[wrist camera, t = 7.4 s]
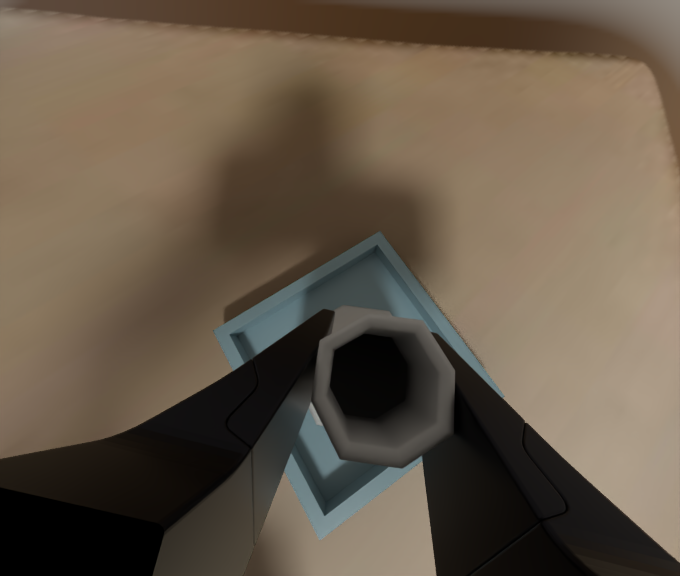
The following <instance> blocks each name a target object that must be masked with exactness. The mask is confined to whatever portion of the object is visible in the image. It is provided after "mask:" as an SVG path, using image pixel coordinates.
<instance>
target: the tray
mask: <svg viewBox="0 0 680 576" xmlns="http://www.w3.org/2000/svg"><path fill="white" fill-rule="evenodd" d="M342 305H348V306H356V307H363V308H370V309H378V310H385V311H390V313H391V314H392V316H394V317H402V318H409V319H417V320H423V321H424V323H425V324H426V326H427V327H428V329H429V331H430V332H434V333H437V334H439V335H440V336H441V337H442V338H443V339H444V340H445V341H446V342H447V343H448V344H449V345H450V346H451V347H452V348H453V349H454V350H455V351H456V352H457V353H458V354H459V355H460V356H461V357H462V358H463V359H464V360H465V361H466V362H467V363H468V364H469V365H470V366H471V367H472V368H473V369H474V370H475V371H476V372H477V373H478V374H479V375H480V376H481V377H482V378H483V379H484V380H485V381H486V382H487V383H488V384H489V385H490V386H491V387H492V388H493V389H494V390H495V391H496V392H497V393H498V394H499V395H500V396H501V397H502V398H503V397H505V396H504V395H503V394H502V392H501V391H500V390H499V388H498V387H497V386H496V384H495V383H494V382H493V380H492V379H491V378H490V376H489V375H488V374H487V372H486V371H485V370H484V368H483V367H482V366H481V364H480V363H479V362H478V360H477V359H476V358H475V356H474V355H473V354H472V352H471V351H470V350H469V348H468V347H467V346H466V344H465V343H464V342H463V340H462V339H461V338H460V336H459V335H458V334H457V333H456V331H455V330H454V329H453V327H452V326H451V325H450V323H449V322H448V321H447V319H446V318H445V317H444V315H443V314H442V313H441V311H440V310H439V309H438V307H437V306H436V305H435V303H434V302H433V301H432V299H431V298H430V297H429V295H428V294H427V293H426V291H425V290H424V289H423V287H422V286H421V285H420V283H419V282H418V281H417V279H416V278H415V277H414V275H413V274H412V273H411V271H410V270H409V269H408V267H407V266H406V265H405V264H404V262H403V261H402V260H401V258H400V257H399V256H398V254H397V253H396V252H395V250H394V249H393V248H392V246H391V245H390V244H389V242H388V241H387V240H386V238H385V237H384V236H383V234H382V233H381V232H380V231H379V232H377V233H375V234H374V235H372V236H370V237H369V238H367V239H365V240H364V241H362V242H360V243H359V244H357V245H355V246H354V247H352V248H350V249H349V250H347V251H345V252H344V253H342V254H340V255H339V256H337V257H335V258H334V259H332V260H330V261H329V262H327V263H325V264H324V265H322V266H320V267H319V268H317V269H315V270H314V271H312V272H310V273H309V274H307V275H305V276H304V277H302V278H300V279H299V280H297V281H295V282H294V283H292V284H290V285H288V286H287V287H285V288H283V289H282V290H280V291H278V292H277V293H275V294H273V295H272V296H270V297H268V298H267V299H265V300H263V301H262V302H260V303H258V304H257V305H255V306H253V307H252V308H250V309H248V310H247V311H245V312H243V313H242V314H240V315H238V316H237V317H235V318H233V319H232V320H230V321H228V322H227V323H225V324H223V325H222V326H220V327H218V328H217V329H215V330H213V332H214V334H215V336H216V338H217V340H218V342H219V344H220V346H221V348H222V349H223V351H224V353H225V355H226V357H227V359H228V361H229V363H230V365H231V367H232V369H233V371H234V370H235V369H237V368H238V367H240V366H241V365H243V364H244V363H246V362H247V361H248V360H250V359H252V358H253V357H254V356H256V355H257V354H259V353H260V352H262V351H263V350H264V349H266V348H267V347H269V346H270V345H272V344H273V343H274V342H276V341H277V340H279V339H280V338H282V337H283V336H285V335H286V334H287V333H289V332H290V331H292V330H293V329H295V328H296V327H297V326H299V325H300V324H302V323H303V322H305V321H306V320H308V319H309V318H310V317H312V316H313V315H315V314H316V313H318V312H319V311H320V310H322V309H328V310H335V309H337V308H338V307H340V306H342ZM421 461H422V456H421V457H419V458H418V459H416V460H415V461H413V462H412V463H410V464H409V465H407V466H406V467H404V468H403V469H400V468H393V467H387V466H380V465H373V464H367V463H360V462H354V461H347V460H340V459H339V457H338V455H337V453H336V451H335V449H334V447H333V445H332V443H331V441H330V439H329V437H328V435H327V433H326V431H325V429H324V426H320V425H316V423H315V420H314V418H313V416H312V414H311V412H310V410H309V408H308V411H307V413H306V416H305V419H304V421H303V424H302V426H301V429H300V431H299V434H298V436H297V439H296V442H295V444H294V447H293V449H292V452H291V454H290V457H289V459H288V462H287V465H286V467H285V470H284V471H285V473H286V475H287V477H288V479H289V481H290V483H291V485H292V487H293V489H294V491H295V493H296V495H297V497H298V499H299V501H300V503H301V505H302V507H303V509H304V511H305V512H306V514H307V516H308V518H309V520H310V522H311V524H312V526H313V528H314V530H315V532H316V534H317V536H318V538H319V540H321V539H322V538H324V537H325V536H326V535H327V534H329V533H330V532H331V531H333V530H334V529H335V528H336V527H338V526H339V525H340V524H342V523H343V522H344V521H345V520H347V519H348V518H349V517H351V516H352V515H353V514H354V513H356V512H357V511H358V510H360V509H361V508H362V507H363V506H365V505H366V504H367V503H369V502H370V501H371V500H372V499H374V498H375V497H376V496H378V495H379V494H380V493H381V492H383V491H384V490H385V489H387V488H388V487H389V486H390V485H392V484H393V483H394V482H395V481H397V480H398V479H399V478H401V477H402V476H403V475H404V474H406V473H407V472H408V471H410V470H411V469H412V468H413V467H415V466H416V465H417V464H419V463H420V462H421Z"/></svg>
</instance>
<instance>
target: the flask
mask: <svg viewBox="0 0 680 576" xmlns="http://www.w3.org/2000/svg"><path fill="white" fill-rule="evenodd" d="M333 311H335V317H334V323H333V328H332V333H331V334H330V335H328V336H326V337H325V338H323V339H321V340H320V342H319V349H318V355H317V362H316V369H315V375H314V382H313V388H312V395H311V403H310V406H309V410H310V412H311V414H312V416H313V418H314V420H315V423H316V425H320V426H324V429H325V431H326V433H327V435H328V437H329V439H330V441H331V443H332V445H333V447H334V449H335V451H336V453H337V455H338V457H339V459H340V460H347V461H354V462H360V463H367V464H373V465H380V466H387V467H393V468H400V469H403V468H404V467H406V466H407V465H409V464H410V463H412V462H413V461H415V460H416V459H418V458H419V457H421V456H422V455H424V454H425V453H427V452H428V451H430V450H431V449H433V448H434V447H436V446H437V445H439V444H440V443H442V442H443V441H445V440H446V439H448V438H449V437H451V436H452V435H454V402H455V370H454V368H453V367H452V365H451V364H450V362H449V360H448V359H447V357H446V356H445V354H444V353H443V351H442V349H441V348H440V346H439V345H438V343H437V342H436V340H435V338H434V337H433V335H432V334H431V332H430V331H429V329H428V327H427V326H426V324H425V323H424V321H423V320H417V319H409V318H402V317H394V316H392V314H391V313H390V311H385V310H378V309H370V308H363V307H356V306H348V305H342V306H340V307H338V308H337V309H335V310H333Z"/></svg>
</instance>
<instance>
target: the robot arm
mask: <svg viewBox="0 0 680 576" xmlns="http://www.w3.org/2000/svg"><path fill="white" fill-rule="evenodd" d="M334 317H335V311H333V310H328V309H322V310H320V311H319V312H318V313H316V314H315V315H313V316H312V317H310V318H309V319H308V320H306V321H305V322H303V323H302V324H300V325H299V326H297V327H296V328H295V329H293V330H292V331H290V332H289V333H287V334H286V335H285V336H283V337H282V338H280V339H279V340H277V341H276V342H274V343H273V344H272V345H270V346H269V347H267V348H266V349H264V350H263V351H262V352H260V353H259V354H257V355H256V356H254V357H253V358H252V359H250V360H248V361H247V362H246V363H244V364H243V365H241V366H240V367H238V368H237V369H235V370H234V371H232V372H231V373H229V374H228V375H226V376H225V377H223V378H221V379H220V380H218V381H216V382H215V383H213V384H211V385H209V386H208V387H206V388H204V389H203V390H201V391H199V392H197V393H196V394H194V395H192V396H190V397H188V398H187V399H185V400H183V401H181V402H179V403H178V404H176V405H174V406H172V407H171V408H169V409H167V410H165V411H163V412H162V413H160V414H158V415H156V416H155V417H153V418H151V419H149V420H147V421H146V422H144V423H142V424H140V425H138V426H136V427H134V428H132V429H129V430H127V431H125V432H122V433H120V434H117V435H114V436H112V437H108V438H105V439H101V440H97V441H92V442H87V443H82V444H77V445H71V446H66V447H61V448H55V449H50V450H45V451H39V452H34V453H29V454H24V455H18V456H13V457H8V458H2V459H0V576H243V575H244V572H245V570H246V567H247V565H248V562H249V560H250V557H251V554H252V552H253V549H254V546H255V544H256V541H257V539H258V536H259V534H260V531H261V529H262V526H263V523H264V521H265V518H266V516H267V513H268V511H269V508H270V506H271V503H272V500H273V498H274V495H275V493H276V490H277V488H278V485H279V483H280V480H281V477H282V475H283V472H284V470H285V467H286V465H287V462H288V459H289V457H290V454H291V452H292V449H293V447H294V444H295V442H296V439H297V436H298V434H299V431H300V429H301V426H302V424H303V421H304V419H305V416H306V413H307V411H308V408H309V406H310V403H311V395H312V388H313V382H314V375H315V369H316V362H317V355H318V349H319V342H320V340H321V339H323V338H325V337H326V336H328V335H330V334H331V333H332V328H333V323H334ZM431 334H432V335H433V337H434V338H435V340H436V342H437V343H438V345H439V346H440V348H441V349H442V351H443V353H444V354H445V356H446V357H447V359H448V360H449V362H450V364H451V365H452V367H453V368H454V370H455V402H454V435H452V436H451V437H449V438H448V439H446V440H445V441H443V442H442V443H440V444H439V445H437V446H436V447H434V448H433V449H431V450H430V451H428V452H427V453H425V454H424V455H422V461H423V469H424V477H425V486H426V494H427V502H428V510H429V518H430V526H431V534H432V542H433V550H434V559H435V567H436V575H437V576H680V563H679V562H678V561H677V560H676V559H675V558H674V557H672V556H671V555H670V554H669V553H668V552H667V551H665V550H664V549H663V548H662V547H661V546H660V545H659V544H658V543H656V542H655V541H654V540H653V539H652V538H651V537H650V536H649V535H648V534H646V533H645V532H644V531H643V530H642V529H641V528H640V527H639V526H638V525H636V524H635V523H634V522H633V521H632V520H631V519H630V518H629V517H628V516H626V515H625V514H624V513H623V512H622V511H621V510H620V509H619V508H618V507H616V506H615V505H614V504H613V503H612V502H611V501H610V500H609V499H608V498H606V497H605V496H604V495H603V494H602V493H601V492H600V491H599V490H598V489H596V488H595V487H594V486H593V485H592V484H591V483H590V482H589V481H588V480H587V479H585V478H584V477H583V476H582V475H581V474H580V473H579V472H578V471H577V470H576V469H575V468H573V467H572V466H571V465H570V464H569V463H568V462H567V461H566V460H565V459H564V458H563V457H562V456H561V455H559V454H558V453H557V452H556V451H555V450H554V449H553V448H552V447H551V446H550V445H549V444H548V443H547V442H546V441H545V440H544V439H543V438H542V437H541V436H540V435H539V434H538V433H537V432H536V431H535V430H534V429H533V428H532V427H531V426H530V425H529V424H528V423H525V420H524V419H523V418H522V417H521V416H520V415H519V414H518V413H517V412H516V411H515V410H514V409H513V408H512V407H511V406H510V405H509V404H508V403H507V402H506V401H505V400H504V399H503V398H502V397H501V396H500V395H499V394H498V393H497V392H496V391H495V390H494V389H493V388H492V387H491V386H490V385H489V384H488V383H487V382H486V381H485V380H484V379H483V378H482V377H481V376H480V375H479V374H478V373H477V372H476V371H475V370H474V369H473V368H472V367H471V366H470V365H469V364H468V363H467V362H466V361H465V360H464V359H463V358H462V357H461V356H460V355H459V354H458V353H457V352H456V351H455V350H454V349H453V348H452V347H451V346H450V345H449V344H448V343H447V342H446V341H445V340H444V339H443V338H442V337H441V336H440V335H439V334H437V333H434V332H431Z"/></svg>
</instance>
